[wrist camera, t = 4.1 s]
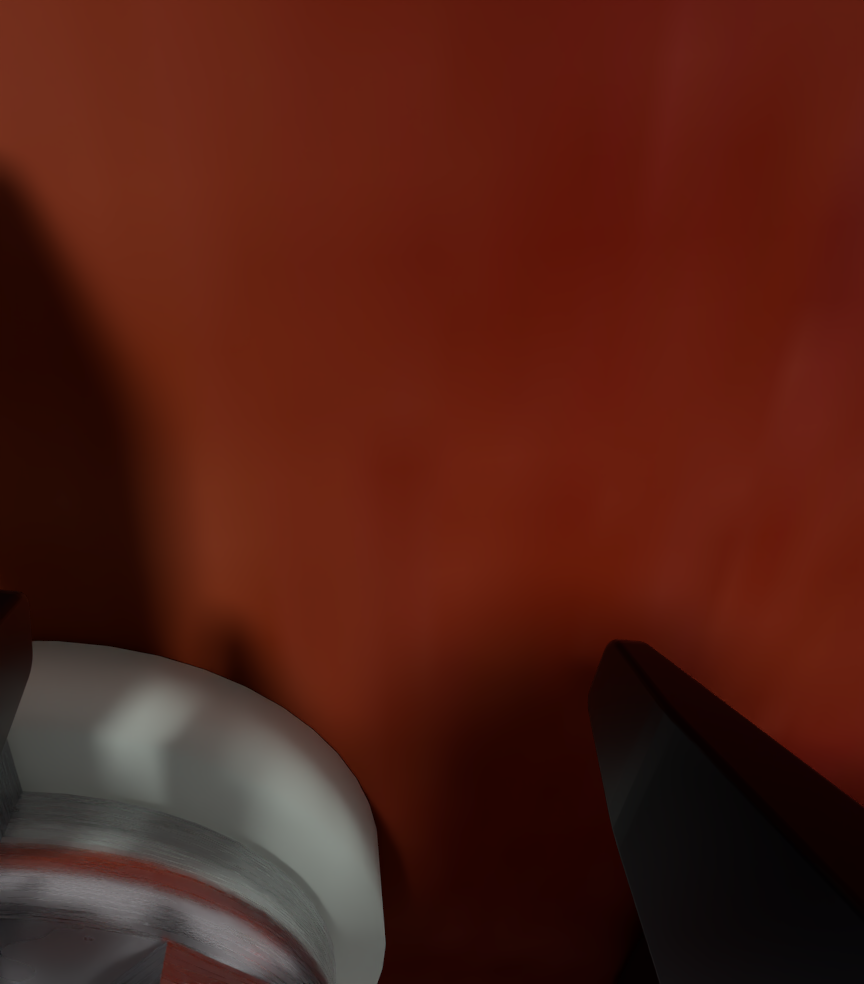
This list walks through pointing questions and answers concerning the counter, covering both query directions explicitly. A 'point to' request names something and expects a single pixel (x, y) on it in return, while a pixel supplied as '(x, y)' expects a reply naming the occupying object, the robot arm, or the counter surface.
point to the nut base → (208, 774)
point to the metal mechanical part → (143, 899)
